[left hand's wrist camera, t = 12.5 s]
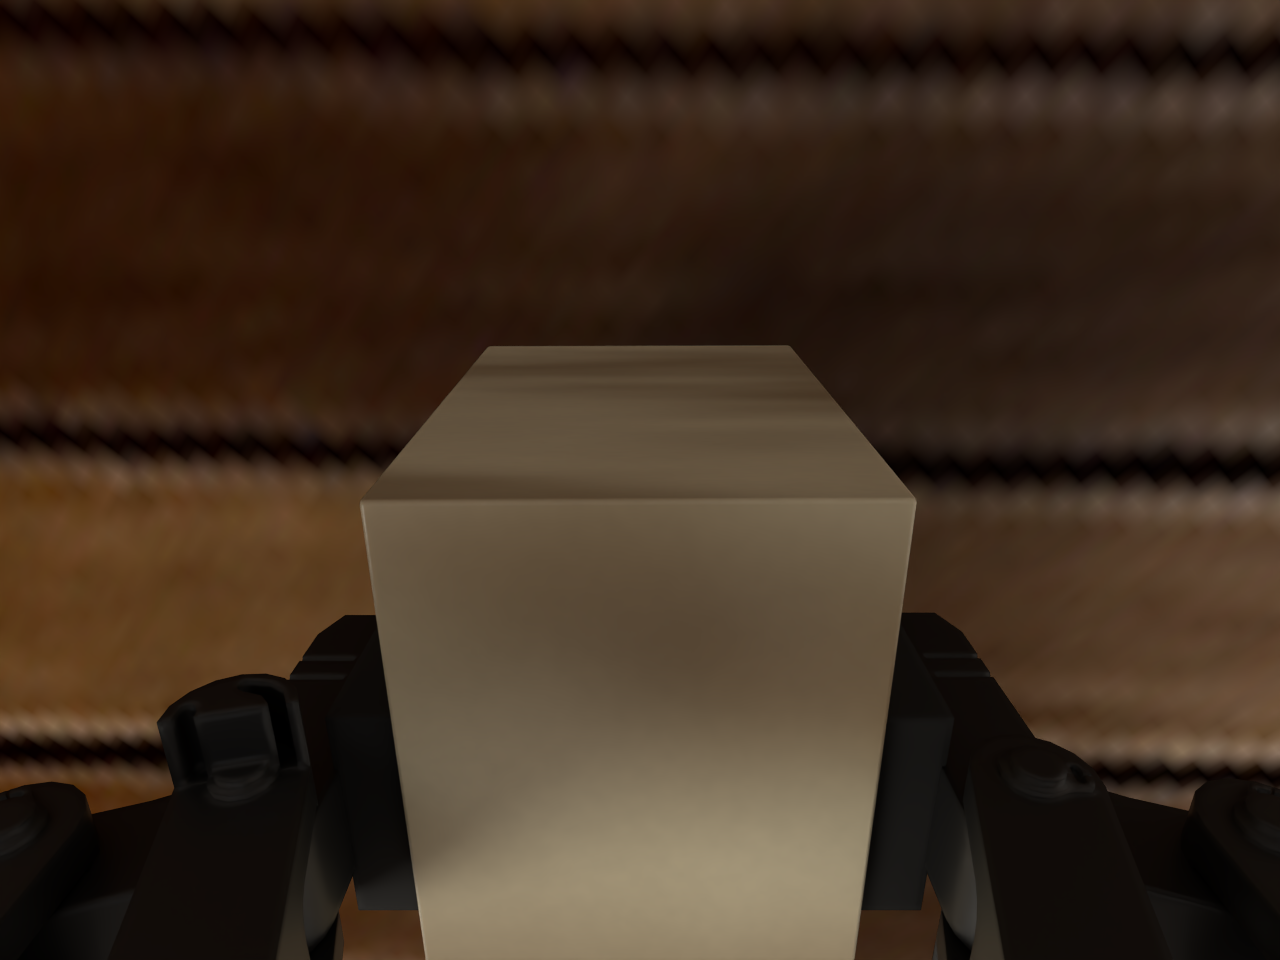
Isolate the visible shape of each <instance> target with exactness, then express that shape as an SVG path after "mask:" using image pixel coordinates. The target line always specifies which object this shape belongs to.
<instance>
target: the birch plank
mask: <svg viewBox="0 0 1280 960" xmlns="http://www.w3.org/2000/svg"><path fill="white" fill-rule="evenodd" d="M916 504H917V502H916V498H915V497H914V496H913V495H912V494H911V492H910V491H909V490H908V489H907V487H906V486H905V485H904V484H903V483H902V481H901V480H900V479H899V478H898V477H897V475H896V474H895V473H894V472H893V470H892V469H891V468H890V467H889V466H888V464H887V463H886V462H885V461H884V460H883V458H882V457H881V456H880V455H879V454H878V452H877V451H876V450H875V449H874V447H873V446H872V445H871V444H870V443H869V441H868V440H867V439H866V438H865V437H864V435H863V434H862V433H861V432H860V430H859V429H858V428H857V427H856V426H855V424H854V423H853V422H852V421H851V420H850V418H849V417H848V416H847V415H846V414H845V412H844V411H843V410H842V409H841V407H840V406H839V405H838V404H837V403H836V401H835V400H834V399H833V398H832V397H831V395H830V394H829V393H828V392H827V390H826V389H825V388H824V387H823V386H822V384H821V383H820V382H819V381H818V380H817V378H816V377H815V376H814V375H813V374H812V372H811V371H810V370H809V369H808V367H807V366H806V365H805V364H804V363H803V361H802V360H801V359H800V358H799V357H798V355H797V354H796V353H795V352H794V350H793V349H792V348H791V347H790V346H788V345H769V346H490V347H488V348H487V349H486V350H485V351H484V352H483V354H482V355H481V356H480V357H479V358H478V360H477V361H476V362H475V363H474V364H473V366H472V367H471V368H470V369H469V371H468V372H467V373H466V374H465V375H464V377H463V378H462V379H461V380H460V381H459V383H458V384H457V385H456V386H455V387H454V389H453V390H452V391H451V392H450V393H449V395H448V396H447V397H446V398H445V399H444V401H443V402H442V403H441V404H440V405H439V407H438V408H437V409H436V410H435V411H434V413H433V414H432V415H431V416H430V417H429V419H428V420H427V421H426V422H425V423H424V425H423V426H422V427H421V428H420V429H419V431H418V432H417V433H416V434H415V436H414V437H413V438H412V439H411V440H410V442H409V443H408V444H407V445H406V446H405V448H404V449H403V450H402V451H401V452H400V454H399V455H398V456H397V457H396V458H395V460H394V461H393V462H392V463H391V464H390V466H389V467H388V468H387V469H386V470H385V472H384V473H383V474H382V475H381V476H380V478H379V479H378V480H377V481H376V482H375V484H374V485H373V486H372V487H371V488H370V490H369V491H368V492H367V493H366V494H365V496H364V497H363V498H362V499H361V501H360V509H361V516H362V523H363V530H364V537H365V544H366V551H367V558H368V564H369V571H370V578H371V585H372V592H373V599H374V606H375V613H376V620H377V626H378V633H379V640H380V647H381V654H382V661H383V668H384V675H385V682H386V688H387V695H388V702H389V709H390V716H391V723H392V730H393V737H394V744H395V750H396V757H397V764H398V771H399V778H400V785H401V792H402V799H403V806H404V812H405V819H406V826H407V833H408V840H409V847H410V854H411V861H412V868H413V874H414V881H415V888H416V895H417V902H418V909H419V916H420V923H421V930H422V936H423V943H424V950H425V957H426V960H854V959H855V952H856V944H857V937H858V930H859V922H860V915H861V908H862V900H863V893H864V886H865V878H866V871H867V864H868V856H869V849H870V842H871V834H872V827H873V819H874V812H875V805H876V797H877V790H878V783H879V775H880V768H881V761H882V753H883V746H884V739H885V731H886V724H887V717H888V709H889V702H890V695H891V687H892V680H893V673H894V665H895V658H896V651H897V643H898V636H899V629H900V621H901V614H902V606H903V599H904V592H905V584H906V577H907V570H908V562H909V555H910V548H911V540H912V533H913V526H914V518H915V511H916Z"/></svg>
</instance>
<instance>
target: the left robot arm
mask: <svg viewBox="0 0 1280 960" xmlns="http://www.w3.org/2000/svg"><path fill="white" fill-rule="evenodd" d="M157 725H158V729H159V733H160V737H161V740H162V744H163V748H164V751H165V755H166V759H167V762H168V766H169V770H170V773H171V777H172V781H173V784H174V790H173V793H172V795H170V796H166V797H163V798H159V799H156V800H153V801H149V802H144V803H140V804H135V805H131V806H126V807H122V808H117V809H113V810H108V811H104V812H99V813H95V814H91V811H90V808H89V805H88V802H87V799H86V796H85V794H84V793H82V792H81V791H80V790H79V789H78V788H76V787H75V786H74V785H71V784H64V783H58V782H45V783H38V784H31V785H24V786H21V787H18V788H15V789H11V790H9V791H5V792H2V793H0V960H342V958H343V947H344V939H343V933H342V926H341V921H340V915H339V908H340V906H341V903H342V901H343V898H344V896H345V893H346V891H347V888H348V886H349V884H350V881H351V879H352V876H353V880H354V886H355V891H356V897H357V903H358V908H359V910H419V909H418V902H417V895H416V888H415V881H414V874H413V868H412V861H411V854H410V847H409V840H408V833H407V826H406V819H405V812H404V806H403V799H402V792H401V785H400V778H399V771H398V764H397V757H396V750H395V744H394V737H393V730H392V723H391V716H390V709H389V702H388V695H387V688H386V682H385V675H384V668H383V661H382V654H381V647H380V640H379V633H378V626H377V620H376V615H345V616H343V617H342V618H341V619H339V620H338V621H336V622H335V623H333V624H332V625H331V626H329V627H328V628H326V629H325V630H324V631H322V632H321V633H319V634H318V635H317V637H316V638H315V639H314V641H313V642H312V644H311V645H310V647H309V648H308V650H307V651H306V653H305V654H304V655H303V660H302V661H299V663H298V664H297V666H296V667H295V669H294V670H293V671H292V673H291V674H290V680H286V679H285V678H282V677H278V676H273V675H269V674H243V675H238V676H233V677H229V678H225V679H221V680H216V681H214V682H211V683H209V684H207V685H204V686H202V687H200V688H197V689H195V690H193V691H191V692H189V693H188V694H186V695H185V696H183V697H182V698H180V699H179V700H178V701H176V702H175V703H173V704H172V705H170V706H169V707H168V709H167V710H166V711H165V713H164V714H163V715H162V716H161V718H160V719H159V720H158V721H157ZM927 874H928V876H929V878H930V881H931V883H932V886H933V888H934V891H935V893H936V896H937V898H938V901H939V903H940V906H941V908H942V910H941V915H940V921H939V926H938V931H937V936H936V942H935V947H934V952H933V958H932V960H1280V789H1277V788H1275V787H1274V788H1273V787H1270V786H1268V785H1264V784H1261V783H1258V782H1253V781H1246V780H1238V779H1231V778H1227V779H1220V780H1213V781H1207V782H1206V783H1205V784H1204V785H1202V786H1201V787H1200V788H1199V789H1197V790H1196V791H1195V794H1194V797H1193V800H1192V803H1191V806H1190V809H1189V811H1187V810H1182V809H1178V808H1173V807H1169V806H1164V805H1160V804H1155V803H1151V802H1146V801H1142V800H1137V799H1133V798H1128V797H1125V796H1121V795H1118V794H1115V793H1111V792H1108V791H1107V789H1106V787H1105V785H1104V784H1103V782H1102V781H1101V779H1100V778H1099V776H1098V775H1097V773H1096V772H1095V770H1094V769H1093V768H1091V767H1090V766H1089V765H1088V764H1087V763H1085V762H1084V761H1083V760H1082V759H1080V758H1079V757H1078V756H1077V755H1075V754H1074V753H1072V752H1070V751H1068V750H1066V749H1064V748H1062V747H1060V746H1057V745H1055V744H1053V743H1051V742H1049V741H1045V740H1041V739H1037V738H1035V737H1034V735H1033V734H1032V732H1031V731H1030V729H1029V728H1028V727H1027V725H1026V724H1025V722H1024V721H1023V719H1022V718H1021V716H1020V715H1019V714H1018V712H1017V711H1016V709H1015V708H1014V706H1013V705H1012V703H1011V702H1010V701H1009V699H1008V698H1007V696H1006V695H1005V693H1004V692H1003V690H1002V689H1001V688H1000V686H999V685H998V683H997V682H996V680H995V679H994V678H993V677H990V672H989V670H988V669H987V667H986V666H985V665H984V663H983V662H982V660H981V659H980V658H977V653H976V652H975V650H974V649H973V647H972V646H971V644H970V643H969V641H968V640H967V639H966V637H965V636H964V634H963V633H962V632H961V631H960V630H959V629H957V628H956V627H954V626H953V625H951V624H950V623H949V622H947V621H946V620H944V619H943V618H941V617H940V616H939V615H937V614H936V613H902V614H901V621H900V629H899V636H898V643H897V651H896V658H895V665H894V673H893V680H892V687H891V695H890V702H889V709H888V717H887V724H886V731H885V739H884V746H883V753H882V761H881V768H880V775H879V783H878V790H877V797H876V805H875V812H874V819H873V827H872V834H871V842H870V849H869V856H868V864H867V871H866V878H865V886H864V893H863V900H862V908H861V910H921V905H922V900H923V894H924V888H925V883H926V877H927Z"/></svg>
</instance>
